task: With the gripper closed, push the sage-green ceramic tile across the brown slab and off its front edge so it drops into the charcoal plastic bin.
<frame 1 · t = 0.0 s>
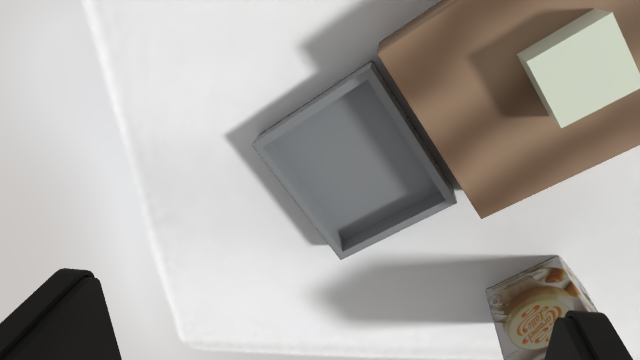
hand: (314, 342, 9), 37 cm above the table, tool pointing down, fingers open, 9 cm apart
tile: (570, 65, 35), point 6 cm above the table, touching brown slab
bin: (356, 161, 48), on the table
coffee box: (533, 289, 52), on the table
brown slab: (525, 63, 42), on the table
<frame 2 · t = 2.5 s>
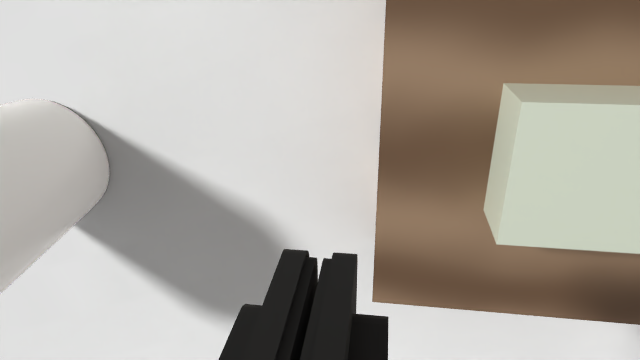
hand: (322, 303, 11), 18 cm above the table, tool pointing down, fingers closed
tile: (564, 153, 20), point 6 cm above the table, touching brown slab
brown slab: (566, 114, 25), on the table
candle holder: (55, 156, 31), on the table
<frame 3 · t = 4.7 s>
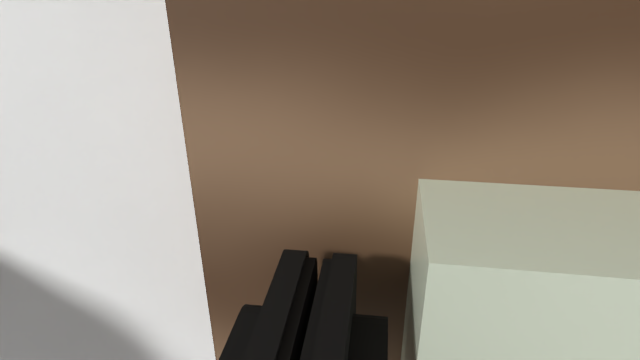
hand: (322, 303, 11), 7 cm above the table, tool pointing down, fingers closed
tile: (539, 303, 11), point 6 cm above the table, touching brown slab, gripper
brown slab: (547, 191, 16), on the table
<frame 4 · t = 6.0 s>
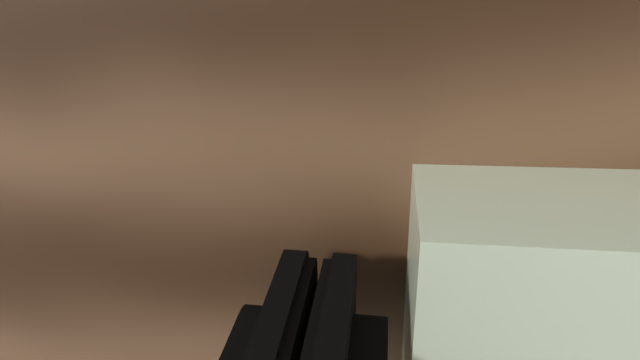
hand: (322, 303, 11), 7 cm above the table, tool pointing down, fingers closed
tile: (538, 286, 10), point 6 cm above the table, touching gripper
brown slab: (285, 177, 17), on the table
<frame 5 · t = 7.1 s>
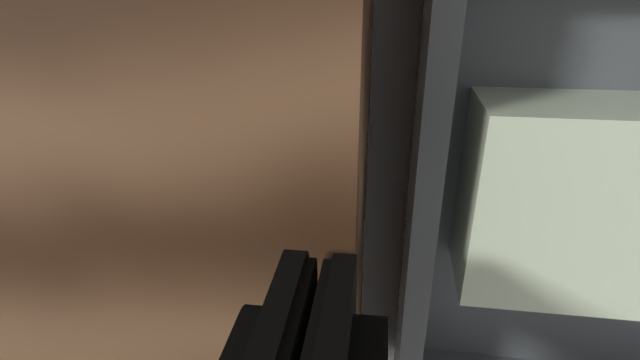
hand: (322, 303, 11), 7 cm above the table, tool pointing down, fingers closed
tile: (589, 227, 12), point 4 cm above the table, tilted 180°, touching bin
bin: (618, 194, 15), on the table
brown slab: (109, 166, 18), on the table
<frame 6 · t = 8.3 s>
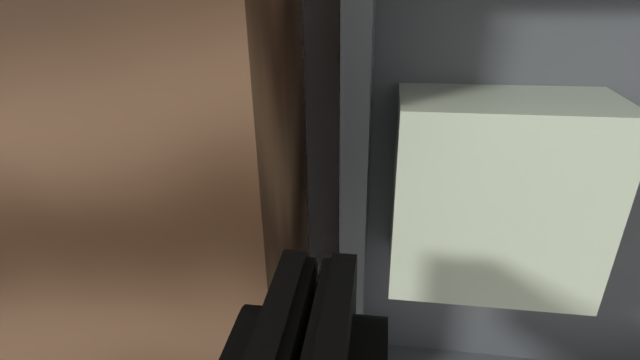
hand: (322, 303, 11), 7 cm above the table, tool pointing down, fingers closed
tile: (505, 221, 12), point 4 cm above the table, tilted 180°, touching bin
bin: (552, 189, 16), on the table
brown slab: (58, 165, 18), on the table
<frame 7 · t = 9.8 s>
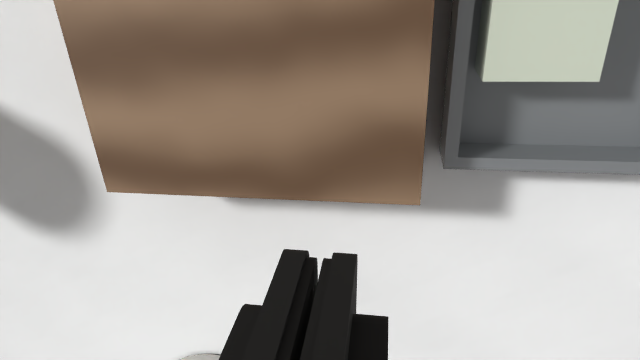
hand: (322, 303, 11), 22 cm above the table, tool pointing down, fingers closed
tile: (550, 24, 24), point 4 cm above the table, tilted 180°, touching bin
bin: (573, 26, 27), on the table
brown slab: (266, 31, 29), on the table
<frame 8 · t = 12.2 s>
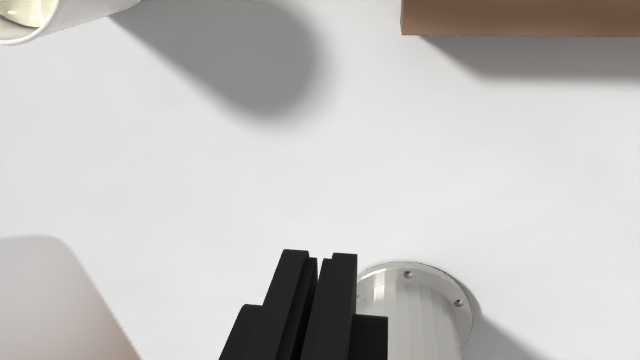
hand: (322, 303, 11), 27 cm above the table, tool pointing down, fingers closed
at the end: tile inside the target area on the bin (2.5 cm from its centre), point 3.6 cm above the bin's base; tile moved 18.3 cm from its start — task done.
